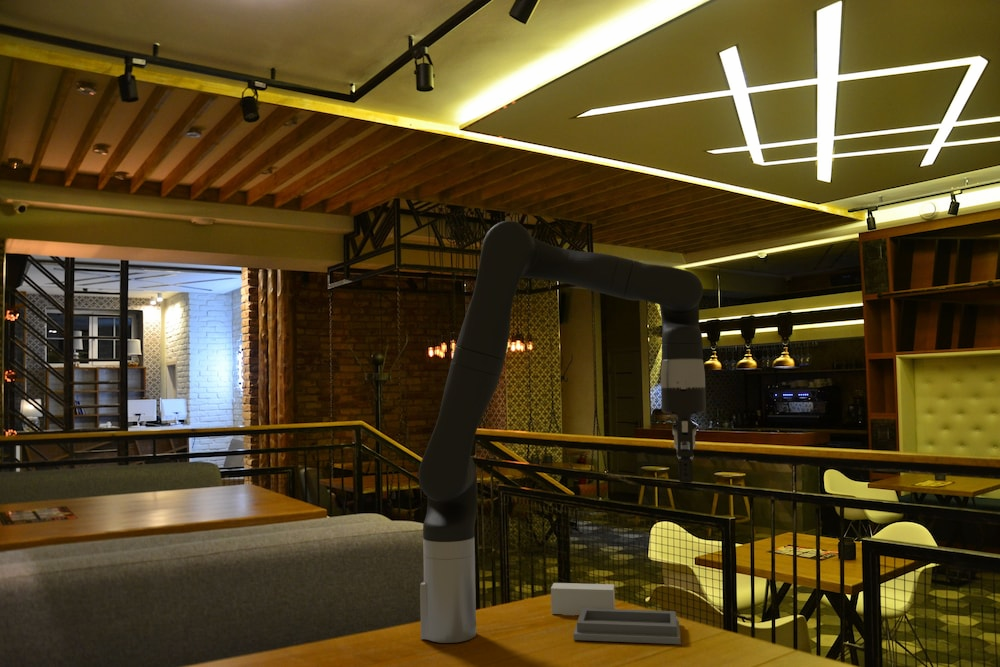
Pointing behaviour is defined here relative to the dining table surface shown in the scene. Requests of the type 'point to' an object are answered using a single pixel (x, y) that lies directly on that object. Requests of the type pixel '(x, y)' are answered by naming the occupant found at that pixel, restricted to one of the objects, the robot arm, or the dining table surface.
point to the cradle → (628, 626)
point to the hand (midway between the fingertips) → (685, 479)
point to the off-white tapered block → (581, 597)
